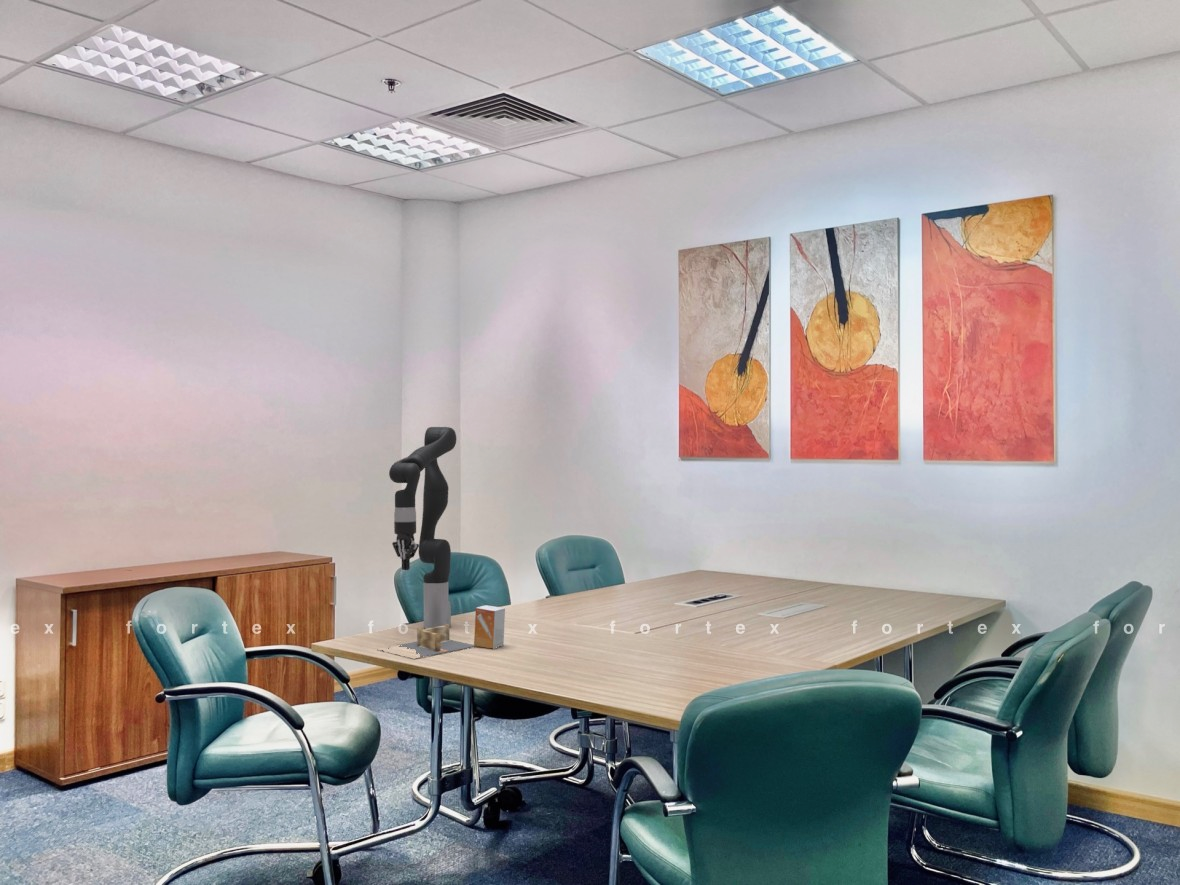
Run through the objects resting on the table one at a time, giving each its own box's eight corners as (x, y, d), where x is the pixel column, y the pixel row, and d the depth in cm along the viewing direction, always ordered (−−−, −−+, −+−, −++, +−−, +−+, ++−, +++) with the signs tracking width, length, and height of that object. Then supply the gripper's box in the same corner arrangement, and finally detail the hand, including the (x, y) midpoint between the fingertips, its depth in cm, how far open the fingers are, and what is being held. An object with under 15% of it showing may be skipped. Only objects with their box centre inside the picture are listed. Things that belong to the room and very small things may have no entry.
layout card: (439, 638, 344) (439, 636, 344) (477, 646, 329) (477, 645, 329) (376, 650, 325) (376, 648, 325) (413, 659, 311) (413, 657, 311)
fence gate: (419, 645, 329) (419, 630, 329) (424, 644, 330) (424, 629, 330) (436, 650, 320) (436, 634, 320) (441, 649, 322) (441, 633, 322)
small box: (473, 645, 329) (475, 607, 329) (484, 642, 335) (486, 604, 334) (493, 649, 325) (494, 610, 325) (504, 645, 331) (505, 607, 330)
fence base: (447, 639, 340) (447, 623, 340) (450, 640, 338) (450, 623, 338) (415, 645, 330) (415, 628, 330) (419, 646, 329) (419, 629, 329)
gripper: (425, 520, 337) (425, 570, 337) (403, 518, 347) (403, 567, 347) (407, 521, 332) (407, 572, 332) (385, 519, 341) (385, 569, 341)
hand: (405, 569), depth 339 cm, fingers closed
